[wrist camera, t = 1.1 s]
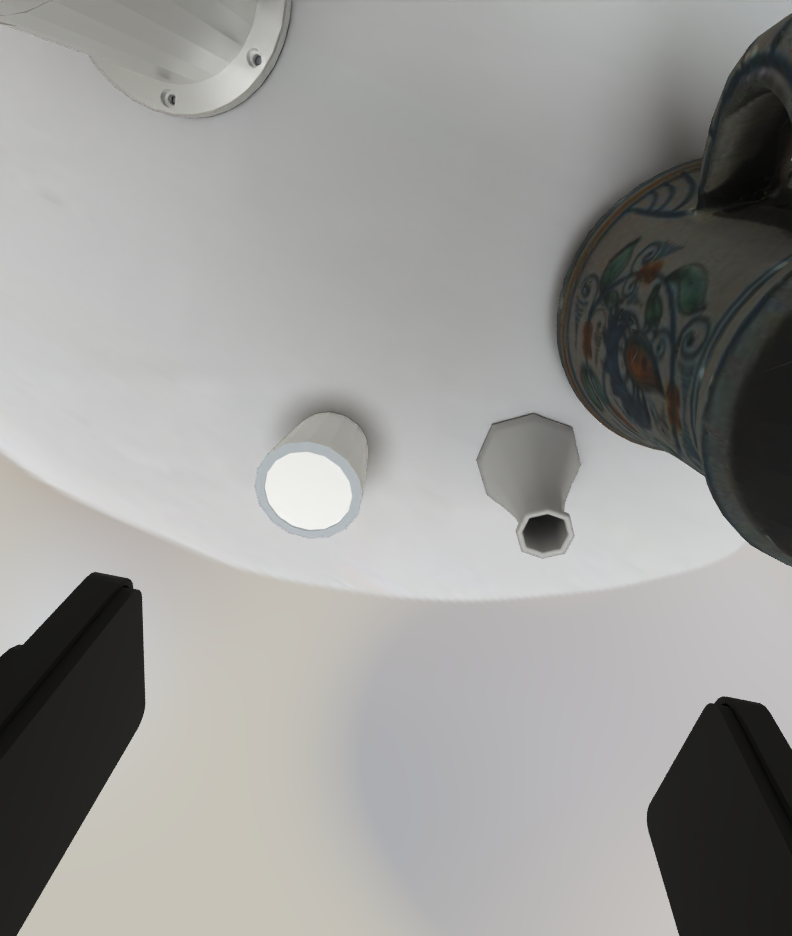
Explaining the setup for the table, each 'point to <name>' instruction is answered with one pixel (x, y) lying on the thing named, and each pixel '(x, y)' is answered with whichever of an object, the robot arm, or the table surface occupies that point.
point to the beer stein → (702, 305)
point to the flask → (532, 479)
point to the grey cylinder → (315, 477)
